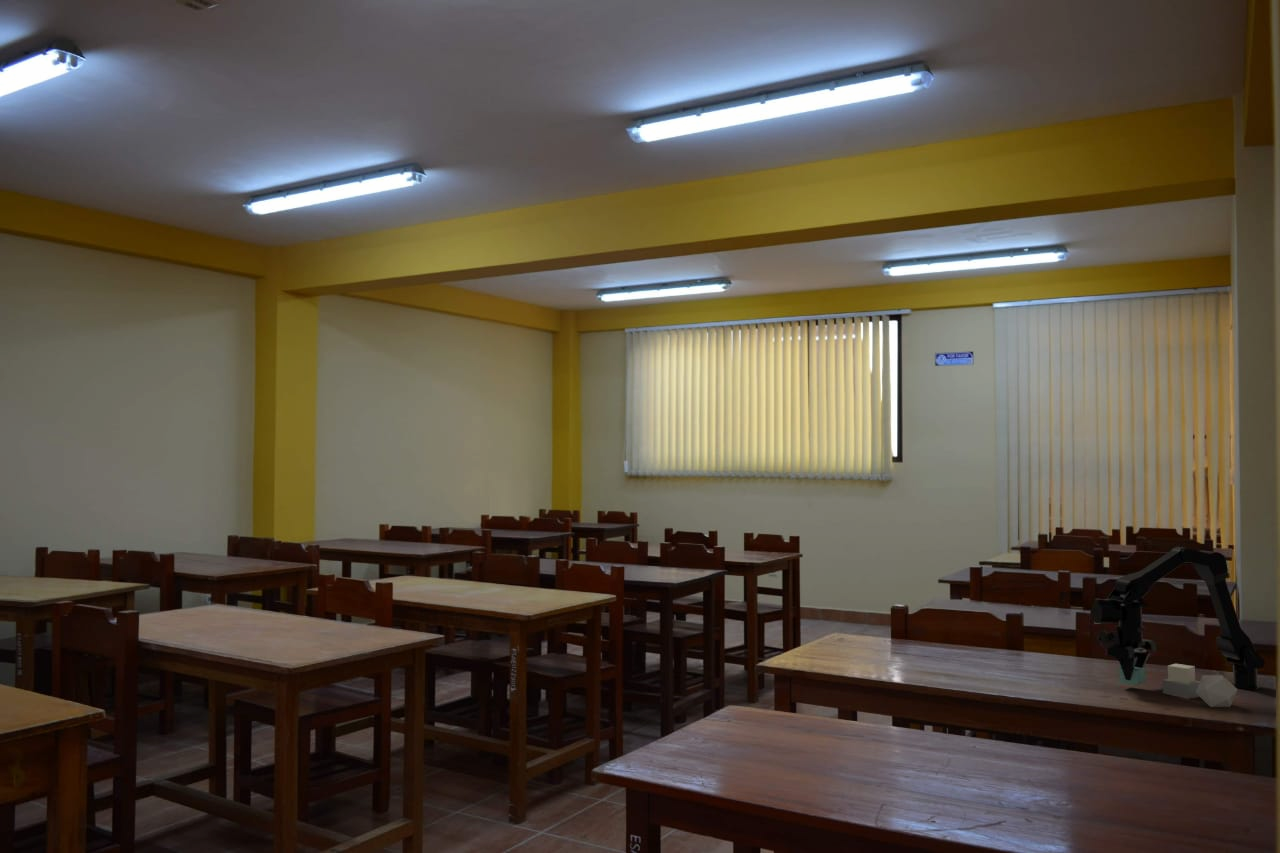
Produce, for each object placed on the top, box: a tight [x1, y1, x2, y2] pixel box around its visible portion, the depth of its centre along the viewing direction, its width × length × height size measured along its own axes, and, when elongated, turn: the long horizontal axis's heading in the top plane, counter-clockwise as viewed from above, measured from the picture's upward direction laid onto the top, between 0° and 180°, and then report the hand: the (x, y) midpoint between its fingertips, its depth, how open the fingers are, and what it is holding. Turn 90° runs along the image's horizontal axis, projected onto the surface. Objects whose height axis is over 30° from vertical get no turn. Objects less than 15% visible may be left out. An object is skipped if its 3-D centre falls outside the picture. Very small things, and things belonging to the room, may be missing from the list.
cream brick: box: [1167, 663, 1196, 684], centre depth 254 cm, size 5×5×4 cm
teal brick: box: [1118, 666, 1146, 686], centre depth 260 cm, size 5×5×4 cm
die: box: [1196, 674, 1239, 708], centre depth 242 cm, size 8×9×10 cm
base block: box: [1162, 678, 1201, 700], centre depth 254 cm, size 7×7×4 cm
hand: (1132, 678), depth 260 cm, fingers closed on teal brick, 5 cm apart
